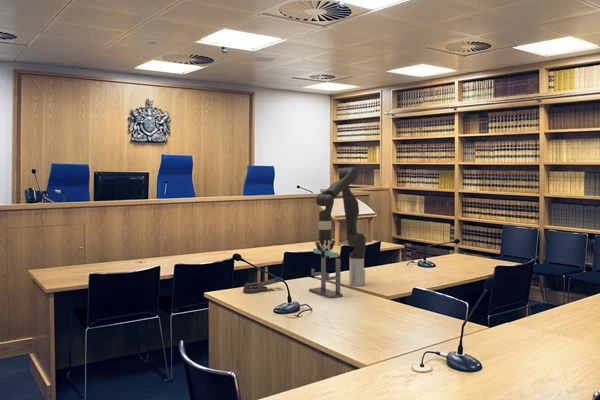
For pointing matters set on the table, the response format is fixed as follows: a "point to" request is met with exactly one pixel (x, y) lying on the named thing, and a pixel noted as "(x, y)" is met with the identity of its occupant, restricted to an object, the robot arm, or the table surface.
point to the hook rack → (325, 276)
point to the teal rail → (326, 252)
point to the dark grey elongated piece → (258, 286)
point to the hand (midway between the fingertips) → (325, 257)
